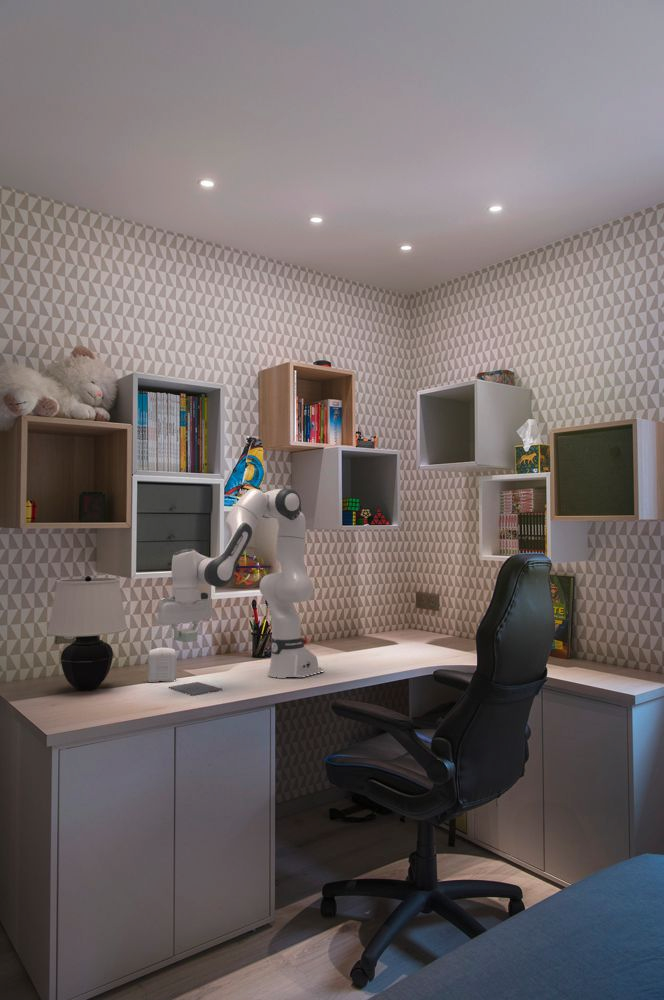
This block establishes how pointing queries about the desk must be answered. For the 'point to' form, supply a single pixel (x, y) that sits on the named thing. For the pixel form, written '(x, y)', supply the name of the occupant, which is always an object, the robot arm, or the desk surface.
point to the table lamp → (87, 627)
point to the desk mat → (195, 688)
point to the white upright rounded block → (161, 665)
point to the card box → (186, 635)
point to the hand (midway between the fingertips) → (185, 635)
